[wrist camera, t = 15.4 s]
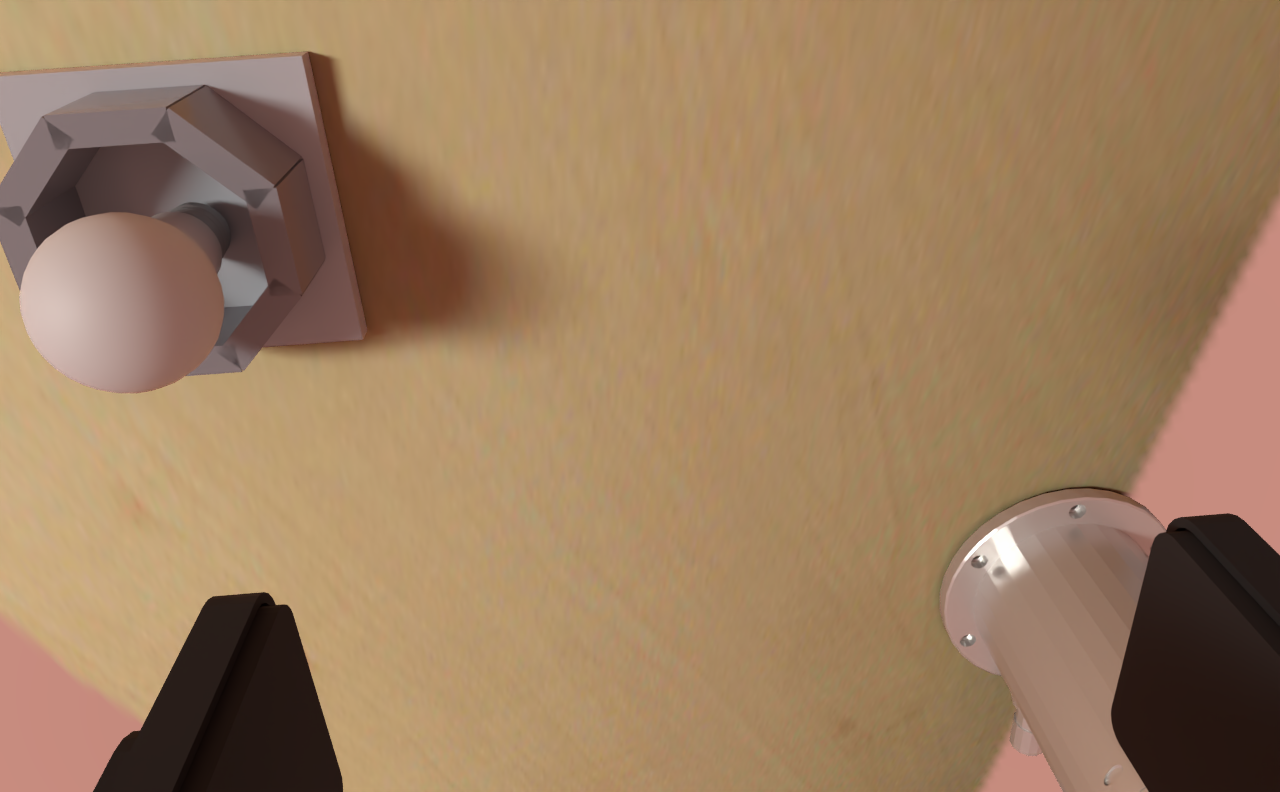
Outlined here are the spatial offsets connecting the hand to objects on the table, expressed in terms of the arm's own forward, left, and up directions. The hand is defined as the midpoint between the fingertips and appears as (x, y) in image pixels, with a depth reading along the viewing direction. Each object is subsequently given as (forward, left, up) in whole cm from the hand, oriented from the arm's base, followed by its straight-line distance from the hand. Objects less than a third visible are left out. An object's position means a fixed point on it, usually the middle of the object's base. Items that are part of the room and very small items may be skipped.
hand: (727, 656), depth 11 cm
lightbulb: (-4, +17, -32) cm, 36 cm away
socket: (-4, +18, -32) cm, 37 cm away
